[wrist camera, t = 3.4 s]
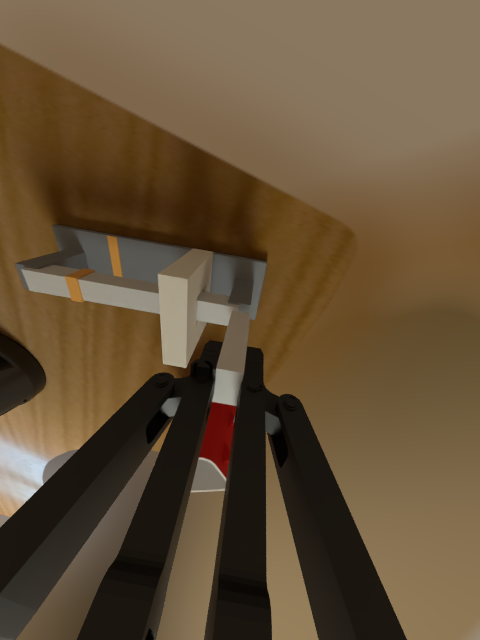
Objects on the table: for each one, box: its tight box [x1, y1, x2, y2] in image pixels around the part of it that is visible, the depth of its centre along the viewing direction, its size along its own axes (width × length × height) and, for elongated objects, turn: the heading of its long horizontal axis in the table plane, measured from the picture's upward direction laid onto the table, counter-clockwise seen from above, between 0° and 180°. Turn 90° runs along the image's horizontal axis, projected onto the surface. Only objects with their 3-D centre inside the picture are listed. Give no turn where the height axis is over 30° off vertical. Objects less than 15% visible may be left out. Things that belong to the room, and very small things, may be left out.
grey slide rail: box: [15, 225, 267, 326], centre depth 21 cm, size 23×7×7 cm, turn 82°
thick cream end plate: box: [158, 248, 213, 368], centre depth 19 cm, size 2×8×8 cm, turn 172°
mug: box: [154, 402, 236, 492], centre depth 31 cm, size 12×8×11 cm
